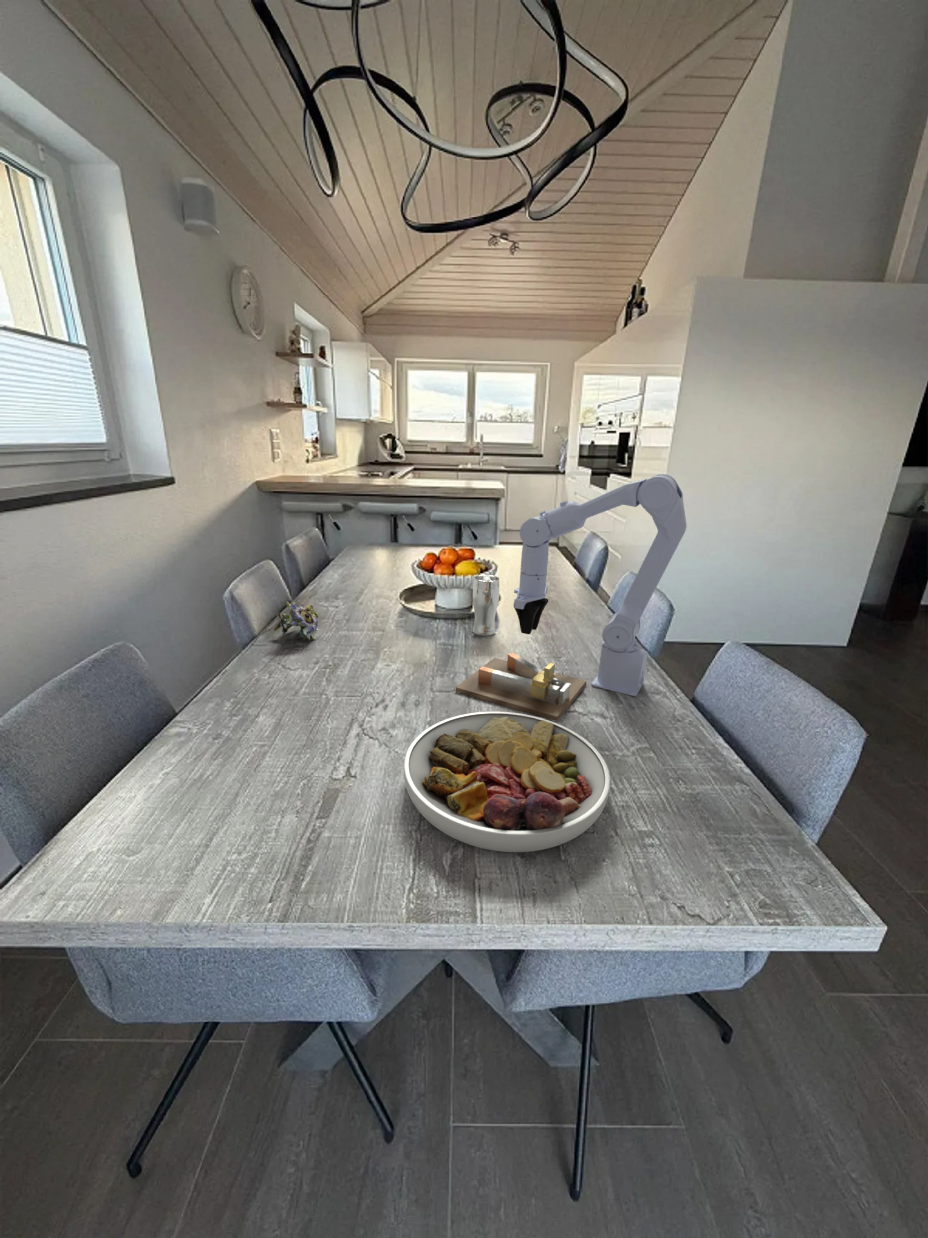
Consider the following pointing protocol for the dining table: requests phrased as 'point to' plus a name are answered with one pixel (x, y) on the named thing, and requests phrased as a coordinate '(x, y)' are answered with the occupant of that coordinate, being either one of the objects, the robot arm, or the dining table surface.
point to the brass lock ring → (542, 681)
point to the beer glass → (485, 604)
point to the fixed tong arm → (521, 685)
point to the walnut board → (516, 700)
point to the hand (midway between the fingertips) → (528, 631)
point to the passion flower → (300, 620)
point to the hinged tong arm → (527, 669)
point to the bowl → (506, 781)
